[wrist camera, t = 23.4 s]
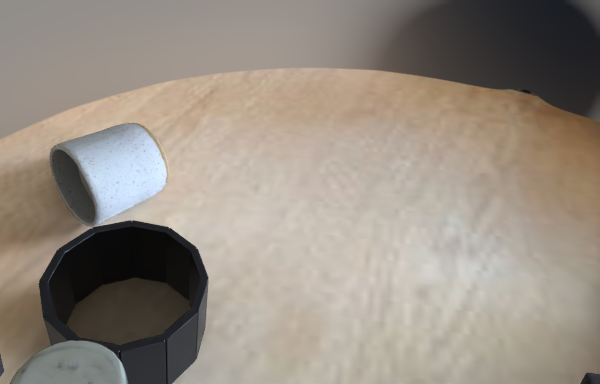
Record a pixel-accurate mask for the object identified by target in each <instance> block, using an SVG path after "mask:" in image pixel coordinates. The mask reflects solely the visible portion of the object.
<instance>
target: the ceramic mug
mask: <svg viewBox="0 0 600 384" xmlns="http://www.w3.org/2000/svg"><path fill="white" fill-rule="evenodd" d="M50 167H51V171H52V174H53V177H54V181H55V183H56V186H57V188H58V190H59V192H60V194H61V196H62V198H63V200H64V202H65V203H66V205H67V206H68V208H69V209H70V210H71V211H72V213H73V214H74V216H75V217H76V218H77V219H78V220H79V221H81V222H82V223H83V224H85V225H87V226H95V225H98V224H100V223H101V222H103V221H105V220H107V219H109V218H111V217H113V216H115V215H117V214H119V213H121V212H123V211H125V210H127V209H129V208H131V207H132V206H134V205H136V204H138V203H140V202H142V201H145V200H147V199H149V198H150V197H152V196H154V195H155V194H157V193H158V192H159V191H161V190H162V189H163V188H164V187H165V185H166V183H167V180H168V175H169V168H168V162H167V158H166V155H165V152H164V150H163V148H162V146H161V144H160V143H159V141H158V139H157V138H156V137H155V136H154V134H153V133H152V132H151V131H150V130H148V129H147V128H146V127H144V126H142V125H140V124H137V123H128V124H121V125H117V126H113V127H110V128H107V129H105V130H102V131H99V132H96V133H93V134H89V135H86V136H83V137H79V138H76V139H73V140H69V141H66V142H63V143H60V144H57V145H55V146H54V147H53V148H52V149H51V152H50Z"/></svg>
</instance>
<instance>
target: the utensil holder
mask: <svg viewBox="0 0 600 384" xmlns="http://www.w3.org/2000/svg"><path fill="white" fill-rule="evenodd" d="M135 277H136V278H142V279H147V280H152V281H157V282H163V283H167V284H168V285H169V286H171V287H172V288H173V289H174V290H176V291H177V292H178V293H180V294H181V295H182V296H183V297H185V298H186V299H187V300H188V301H189V303H190V306H191V309H190V310H189V311H188V312H187V313H185V314H184V315H183V316H182V317H181V318H180V319H179V320H177V321H176V322H175V323H174V324H173V325H172V326H170V327H169V328H168V329H167V330H166V331H165V332H164V333H162V334H160V335H156V336H153V337H149V338H145V339H142V340H138V341H134V342H130V343H127V344H123V345H116V344H111V343H106V342H100V341H95V340H90V339H84V338H79V337H78V336H77V335H76V334H75V333H74V332H73V331H72V330H70V329H69V328H68V327H67V326H66V323H67V321H68V319H69V317H70V315H71V313H72V311H73V309H74V307H75V305H76V304H77V303H78V302H80V301H81V300H82V299H84V298H85V297H86V296H88V295H89V294H91V293H92V292H93V291H95V290H96V289H97V288H99V287H100V286H102V285H104V284H108V283H112V282H117V281H121V280H126V279H130V278H135ZM39 282H40V283H39V288H40V296H41V304H42V312H43V318H44V321H45V325H46V328H47V332H48V335H49V339H50V342H51V346H52V345H55V344H58V343H62V342H67V341H70V340H72V341H89V342H94V343H97V344H100V345H102V346H104V347H106V348H108V349H109V350H111V351H112V352H114V353H115V355H116V356H117V358H118V359H119V360H120V361H121V362H122V365H123V367H124V369H125V373H126V376H127V380H128V384H172V383H173V382H174V381H175V380H176V379H177V378H178V377H179V376H180V375H181V374H182V373H183V372H184V371H185V370H186V369H187V368H188V367H189V366H190V365H191V364H192V363H193V362H194V361H195V359H197V355H198V352H199V348H200V344H201V341H202V337H203V334H204V330H205V322H206V308H207V293H208V275H207V273H206V270H205V267H204V265H203V262H202V259H201V256H200V254H199V251H198V249H196V247H195V246H194V245H193V244H191V243H190V242H188V241H187V240H186V239H184V238H183V237H182V236H180V235H179V234H178V233H176V232H175V231H174V230H172V229H171V228H169V227H165V226H160V225H155V224H149V223H144V222H139V221H134V220H133V221H132V222H131V220H130V221H125V222H119V223H114V224H109V225H103V226H98V227H93V229H89V230H87V231H86V232H84V233H83V234H81V235H80V236H78V237H76V238H75V239H73V240H72V241H70V242H69V243H67V244H66V245H64V246H62V247H61V248H59V250H57V251H56V253H55V255H54V257H53V258H52V260H51V262H50V263H49V265H48V267H47V269H46V270H45V272H44V274H43V276H42V277H41V279H40V281H39Z"/></svg>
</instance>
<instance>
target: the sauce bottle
mask: <svg viewBox="0 0 600 384" xmlns="http://www.w3.org/2000/svg"><path fill="white" fill-rule="evenodd" d="M10 384H128V380H127V376H126V373H125V369H124V367H123V365H122V362H121V361H120V360H119V359H118V358H117V356H116V355H115V353H114V352H112V351H111V350H109V349H108V348H106V347H104V346H102V345H100V344H97V343H94V342H89V341H72V340H70V341H67V342H62V343H58V344H55V345H52V346H50V347H47V348H45V349H43V350H41V351H39V352H38V353H36V354H35V355H34V356H33V357H31V358H30V359H29V360H28V361H27V362H26V363H25V364H24V365H23V366H22V367H21V368H20V369H19V370H18V371H17V372H16V374H15V375H14V377H13V378H12V380H11V383H10Z"/></svg>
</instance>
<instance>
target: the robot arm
mask: <svg viewBox="0 0 600 384" xmlns="http://www.w3.org/2000/svg"><path fill="white" fill-rule="evenodd" d="M3 372H4V368H3V364H2V359H1V355H0V376H1V375H2V373H3ZM580 384H600V374H593V373H586V375H585V376H584V378H583V380H582V382H581V383H580Z"/></svg>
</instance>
